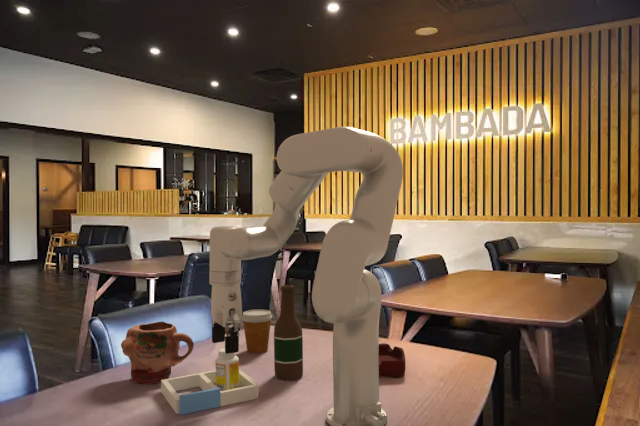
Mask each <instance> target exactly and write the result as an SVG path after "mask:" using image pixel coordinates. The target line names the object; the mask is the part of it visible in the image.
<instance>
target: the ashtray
mask: <svg viewBox="0 0 640 426" xmlns="http://www.w3.org/2000/svg"><path fill="white" fill-rule="evenodd" d="M378 347H379V377H384V378H385V377H386V378H393V379H398V378H401V377H404V376H405V374H406V373H405V372H406V355H405V352H404V351H405V350H404V349H403V348H402V347H400V346H396V345H394V346H393V348H392V347H391V346H390V344H388V343H385V342H384V343H379V346H378Z"/></svg>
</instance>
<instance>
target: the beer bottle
mask: <svg viewBox="0 0 640 426" xmlns="http://www.w3.org/2000/svg"><path fill="white" fill-rule="evenodd" d="M280 290H281V296H280V297H281V298H280V299H281V300H280V314H279V316H278V318H277V320H276V321H275V324H274V326H273V327H274V328H273V349H274V350H273V351H274V352H273V353H274V356H273V362H274V367H273V368H274V375H275V378H276V379H277V380H281V381H284V382H286V381H287V382H288V381H297V380H298V379H301V378H303V376H304V375H303V372H304V360H303V359H304V356H303V355H304V353H303V351H304V349H303V348H304V347H303V346H304V345H303V342H304V341H303V327H302V324H301V322H300V321H299V319H298V317H297V315H296V310H295V308H296V307H295V299H294V298H295V297H294V291H295V286H294V285H292V284H283V285H281V286H280Z"/></svg>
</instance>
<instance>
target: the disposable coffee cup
mask: <svg viewBox="0 0 640 426" xmlns="http://www.w3.org/2000/svg"><path fill="white" fill-rule="evenodd" d="M272 318H273V314H272V312H271V311H270V310H267V309H249V310H246V311H242V324H243V329H244V336H245V337H244V338H245V345H246V352H247V353H249V354H251V355H252V354H254V355H256V354H258V355H260V354H264V353H267V352H268V350H269V341H270V330H271V322H272Z"/></svg>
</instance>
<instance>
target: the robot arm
mask: <svg viewBox="0 0 640 426" xmlns="http://www.w3.org/2000/svg"><path fill="white" fill-rule="evenodd" d="M276 163H277V166H278V168H279V169H280V171H279V174H278V175H277V176H276V177H275V179H274V180H273V182H272V183H271V184H270V185H269V188H268V193H269V194H268V195H269V197H270V198H271V200H272V201H273V202H274V204H275V207H274V210H273V212H272V213H271V215H270V216H269V217H268V218H267V220H266V221H265V222H264V223H263V224H262V225H257V226H255V225H254V226H245V227H237V226H233V225H232V226H229V225H226V226H215V227H212V228H211V229H210V231H209V285H211V297H210V298H211V300H210V309H211V310H210V314H211V319H212V321H211V342H212V344H217V343H224V348H225V353H226V354H229V353H238V352H239V351H240V350H239V348H240V347H239V346H240V343H239V341H240V337H239V336H240V326H241V325H242V324H243V320H242V316H243V304H242V292H241V287H240V286H241V285H240V284H242V261H248V260H254V259H258V258H264V257H270V256H272V255H274V254H275V253H277V252H279V250H280V249H281V248H282V247H283V246H284V244H285V243H286V242H287V241H288V240H289V238H290V237H291V236H292V234H293V233H294V231H295V229H296V227H297V224H298V221H299V217H300V210H301V209H302V207H303V206H304V205H305V204H306V203H307V201H308V200H309V199H310V197H311V196H312V195H313V193H314V192H315V191H316V190H317V188H318V187H319V186H320V185H321V184H322V182H323V181H324V179H325V178H326V177H327V176H328V174H329V173H335V172H351V173H360V174H361V175H363V177H362V181H361V182H360V185H359V186H358V187H359V188H358V189H357V191H356V193H355V196H354V200H353V201H354V203H353V206H352V212H351V215H350V218H349V219H344V220H342V221H341V220H340V221H338V222H337V223H335V224H334V225H332V226H331V227H330V228H329V230H328V231H327V232H326V234H325V236H324V238H323V240H322V244H321V246H320V247H321V248H320V252H319V256H318V262H317V265H316V271H315V275H314V280H313V283H312V290H311V303H312V306H313V309H314V312H315V313H316V315H317V316H318V317H319V318H320V319H321V320H322V321H323V322H326V323H328V324H333V331H332V332H333V333H332V374H333V375H332V376H333V377H332V378H333V379H332V380H333V382H332V384H333V387H332V388H333V389H332V390H333V406H332V407H330V408H329V410H328V411H327V412H326V415H325V416H326V417H325V419H326V422H327V424H329V425H330V426H385V425H386V424H387V421H388V416H387V413H386V411H385V410H384V409H383V408H382V403H381V402H380V376H379V347H378V346H379V344H380V342H379V341H380V339H379V334H380V333H379V332H380V331H379V328H380V327H379V326H380V316H381V307H382V293H383V292H382V287H381V284H380V282H379V279H378V278H377V277H376V275H375V274H374V273H373V272H371V271H369V270H367V269H365V267H367V266H371V265H374V264H376V263H378V262H380V261H381V260H382V258H383V257H384V256H385V255H386V252H387V250H388V247H389V246H388V245H389V241H390V236H391V231H392V228H393V224H394V218H395V213H396V209H397V205H398V204H397V203H398V200H399V196H400V192H401V189H402V188H401V187H402V183H403V179H404V178H403V176H404V167H403V161H402V158H401V155H400V154H399V152H398V150H397V149H396V148H395V147H394V145H392V143H391V142H390V141H388V140H387V139H385V138H384V137H382V136H380V135H378V134H377V133H373V132H371V131H367V130H364V129H359V128H355V127H350V126H338V127H335V126H334V127H332V128H331V127H329V128H325V129H324V128H323V129H319V130H315V131H309V132H303V133H298V134H294V135H291V136H289V137H287V138H286V139H284V141H282V143H281V144H280V146H279V147H278V149H277V153H276Z"/></svg>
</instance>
